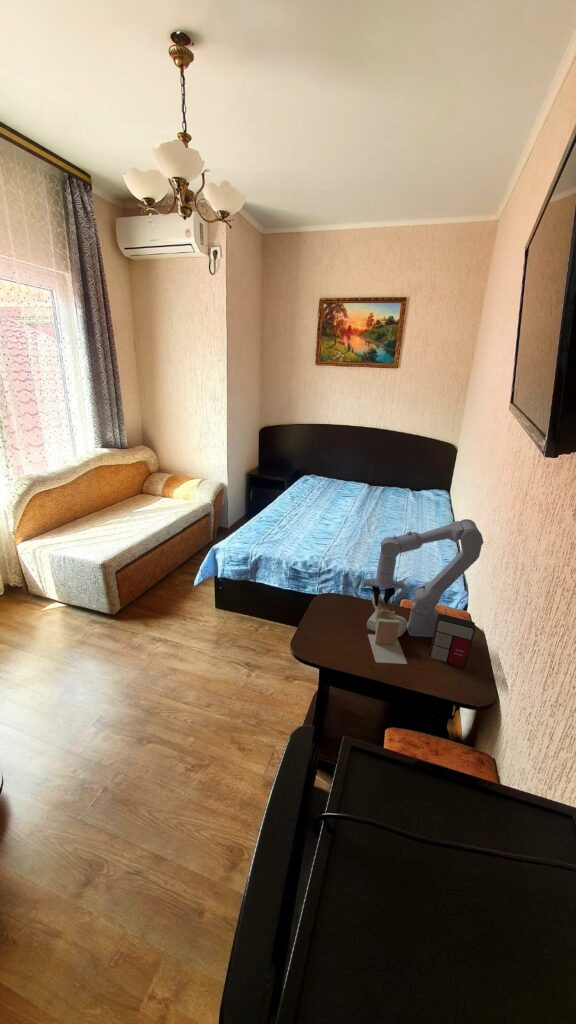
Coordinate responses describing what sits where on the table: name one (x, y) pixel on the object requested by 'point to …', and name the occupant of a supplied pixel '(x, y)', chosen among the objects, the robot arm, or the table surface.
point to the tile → (386, 631)
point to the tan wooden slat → (383, 610)
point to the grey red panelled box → (452, 639)
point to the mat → (387, 652)
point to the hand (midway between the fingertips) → (380, 604)
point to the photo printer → (403, 623)
